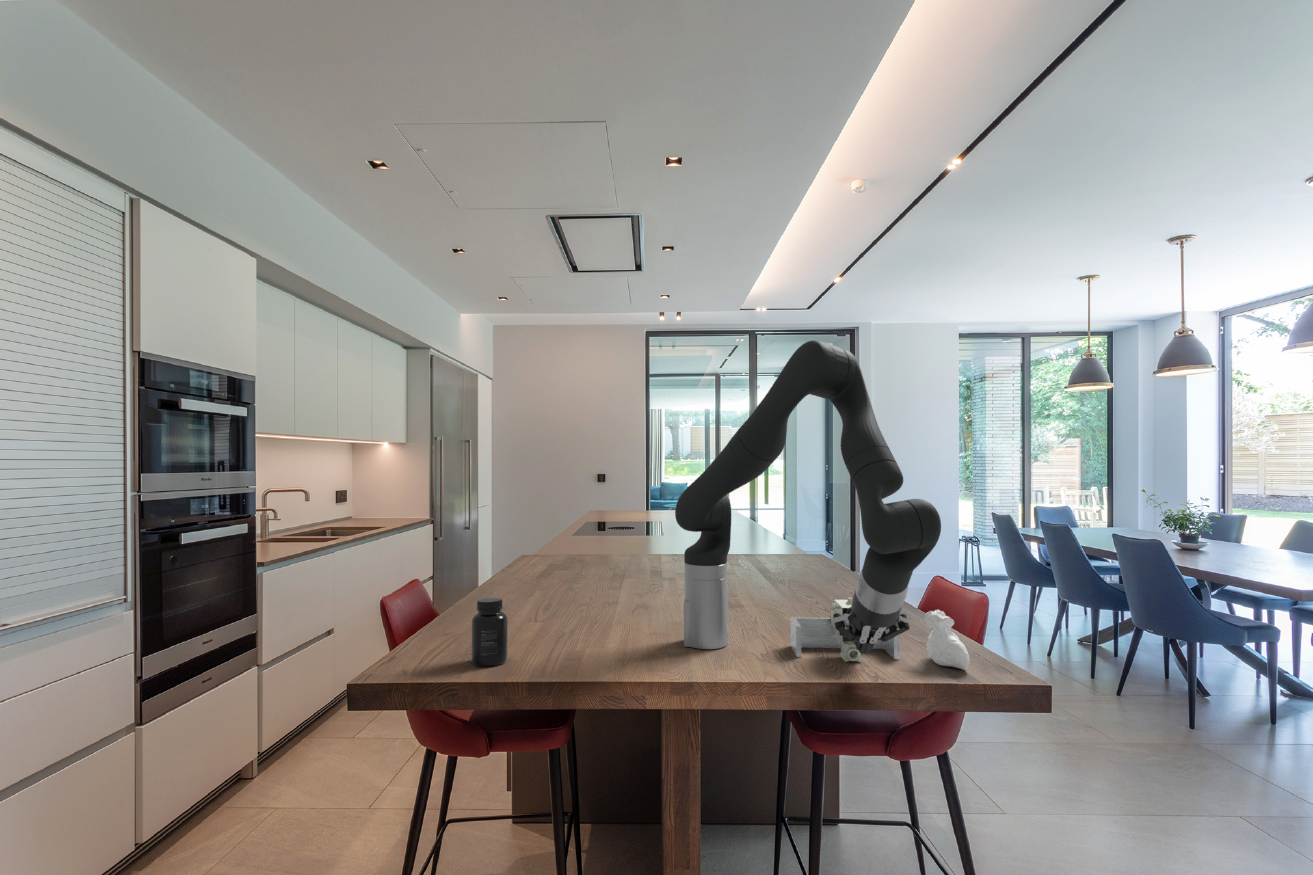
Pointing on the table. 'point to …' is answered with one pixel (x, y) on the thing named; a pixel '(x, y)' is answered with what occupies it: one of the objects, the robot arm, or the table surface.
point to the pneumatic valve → (847, 646)
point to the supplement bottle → (489, 633)
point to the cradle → (828, 636)
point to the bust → (945, 642)
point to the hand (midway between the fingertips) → (862, 648)
